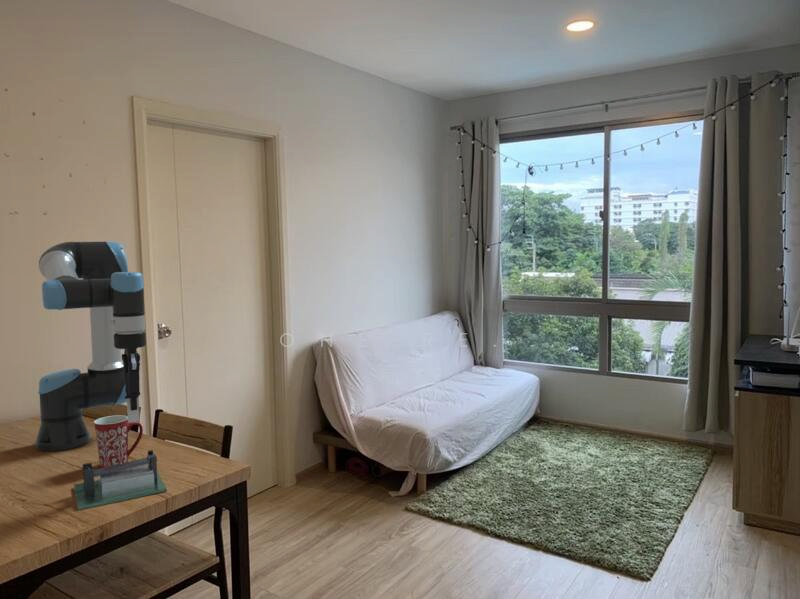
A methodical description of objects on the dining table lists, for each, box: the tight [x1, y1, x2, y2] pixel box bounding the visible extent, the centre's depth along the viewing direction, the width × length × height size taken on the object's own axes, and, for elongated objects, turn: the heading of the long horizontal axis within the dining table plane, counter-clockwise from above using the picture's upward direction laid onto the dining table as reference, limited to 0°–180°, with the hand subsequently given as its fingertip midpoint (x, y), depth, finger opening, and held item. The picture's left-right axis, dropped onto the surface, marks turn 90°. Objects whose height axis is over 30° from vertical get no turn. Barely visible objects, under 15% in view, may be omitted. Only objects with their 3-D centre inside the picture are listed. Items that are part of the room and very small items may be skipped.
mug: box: [93, 414, 144, 469], centre depth 172 cm, size 13×9×14 cm
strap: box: [93, 453, 158, 478], centre depth 153 cm, size 17×3×2 cm, turn 121°
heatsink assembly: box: [73, 449, 168, 511], centre depth 153 cm, size 20×16×8 cm
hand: (133, 421), depth 156 cm, fingers closed
